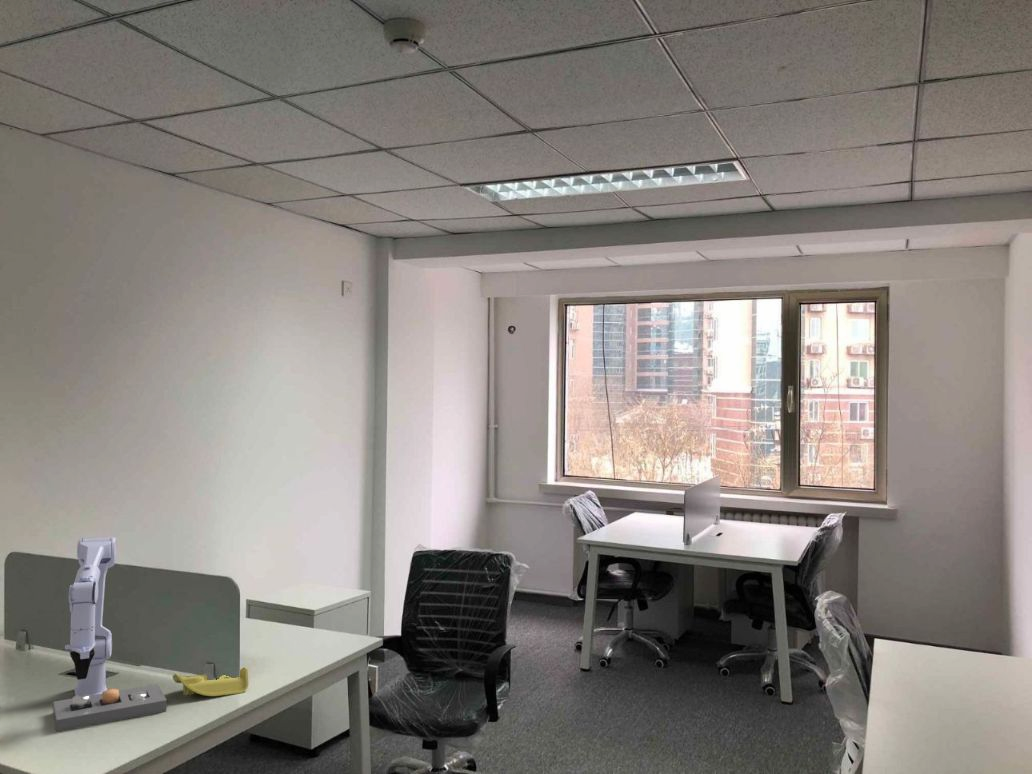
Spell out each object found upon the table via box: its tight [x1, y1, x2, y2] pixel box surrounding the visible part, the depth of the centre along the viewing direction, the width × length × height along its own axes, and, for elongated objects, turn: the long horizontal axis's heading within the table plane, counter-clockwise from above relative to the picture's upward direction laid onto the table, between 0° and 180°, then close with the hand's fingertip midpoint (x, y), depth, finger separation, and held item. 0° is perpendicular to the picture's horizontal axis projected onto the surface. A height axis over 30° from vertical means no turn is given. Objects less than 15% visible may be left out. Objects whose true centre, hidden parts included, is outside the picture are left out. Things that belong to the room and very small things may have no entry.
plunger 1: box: [72, 694, 90, 709], centre depth 212 cm, size 4×4×2 cm
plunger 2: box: [131, 692, 147, 700], centre depth 220 cm, size 4×4×2 cm
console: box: [52, 683, 168, 732], centre depth 216 cm, size 14×26×3 cm, turn 123°
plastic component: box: [172, 666, 249, 697], centre depth 232 cm, size 20×7×10 cm
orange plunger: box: [102, 688, 120, 703], centre depth 216 cm, size 4×4×2 cm
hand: (81, 678), depth 212 cm, fingers closed
